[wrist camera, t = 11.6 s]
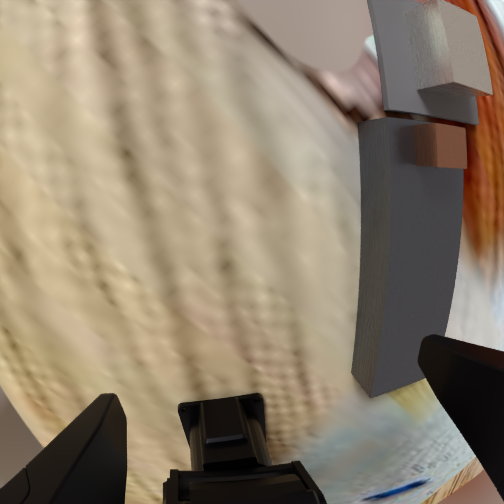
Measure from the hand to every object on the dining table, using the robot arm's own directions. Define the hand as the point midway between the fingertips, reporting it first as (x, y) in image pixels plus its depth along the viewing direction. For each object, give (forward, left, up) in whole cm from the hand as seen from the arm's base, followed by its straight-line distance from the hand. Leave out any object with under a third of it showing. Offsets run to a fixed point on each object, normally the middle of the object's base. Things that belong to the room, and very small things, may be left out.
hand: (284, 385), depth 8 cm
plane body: (-2, -12, -12) cm, 17 cm away
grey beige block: (+14, -16, -11) cm, 24 cm away
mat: (+14, -16, -12) cm, 24 cm away
